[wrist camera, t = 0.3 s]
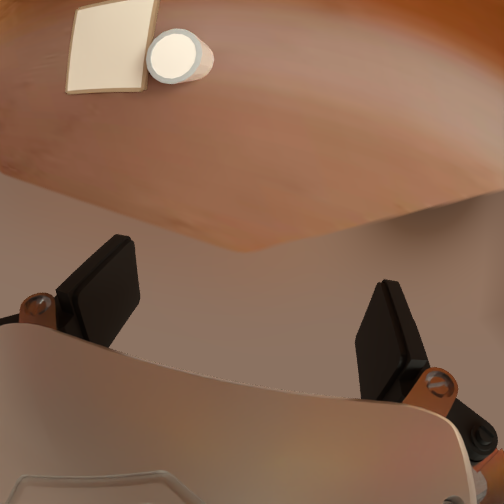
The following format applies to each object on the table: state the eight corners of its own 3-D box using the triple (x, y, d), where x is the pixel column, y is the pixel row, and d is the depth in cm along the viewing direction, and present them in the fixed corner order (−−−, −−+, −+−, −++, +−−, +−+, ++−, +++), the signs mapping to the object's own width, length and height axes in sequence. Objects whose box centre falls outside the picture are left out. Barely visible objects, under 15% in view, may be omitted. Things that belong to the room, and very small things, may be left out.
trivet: (78, 8, 30) (75, 8, 30) (161, -6, 29) (158, -7, 29) (67, 94, 38) (64, 94, 37) (146, 91, 37) (143, 91, 36)
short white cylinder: (218, 84, 35) (201, 82, 29) (169, 86, 36) (145, 86, 30) (219, 35, 32) (202, 25, 26) (169, 40, 33) (146, 32, 27)
